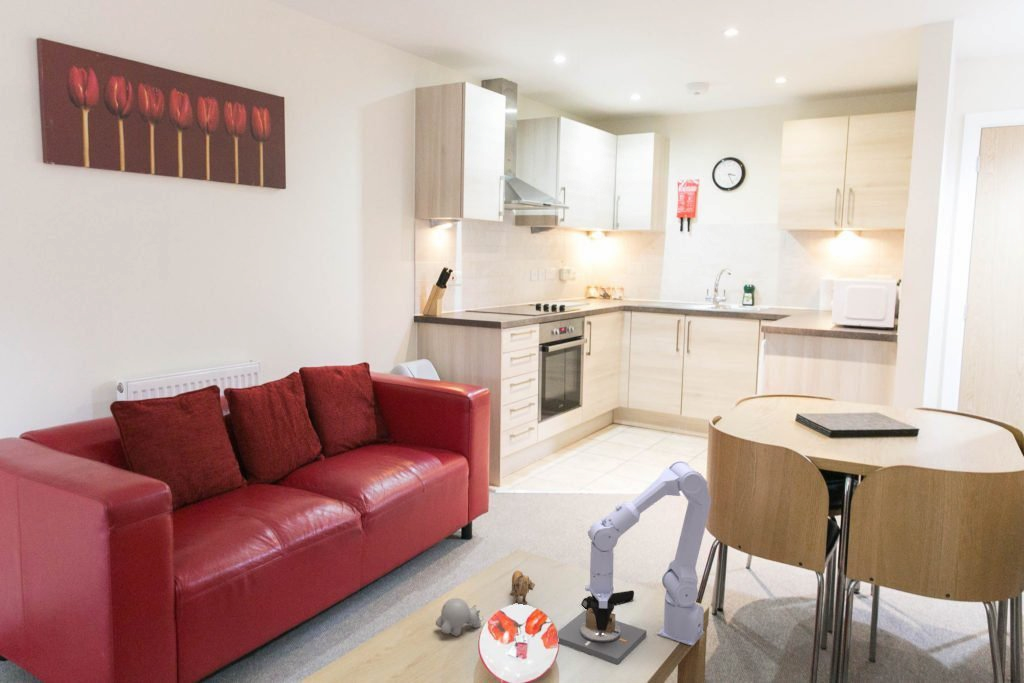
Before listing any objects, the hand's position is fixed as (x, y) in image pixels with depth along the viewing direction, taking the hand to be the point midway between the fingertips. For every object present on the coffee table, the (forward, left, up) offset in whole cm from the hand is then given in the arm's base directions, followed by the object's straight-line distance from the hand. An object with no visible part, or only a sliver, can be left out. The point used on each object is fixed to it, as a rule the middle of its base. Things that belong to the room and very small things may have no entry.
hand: (600, 622), depth 182 cm
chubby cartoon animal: (+31, +18, -5) cm, 36 cm away
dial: (0, 0, -3) cm, 3 cm away
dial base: (0, 0, -4) cm, 4 cm away
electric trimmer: (+7, -18, -5) cm, 20 cm away
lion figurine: (+28, -6, -5) cm, 29 cm away
